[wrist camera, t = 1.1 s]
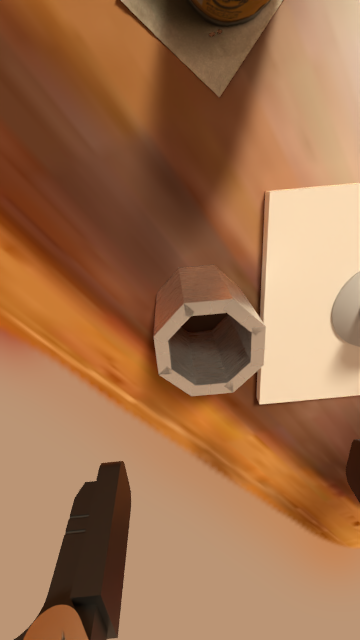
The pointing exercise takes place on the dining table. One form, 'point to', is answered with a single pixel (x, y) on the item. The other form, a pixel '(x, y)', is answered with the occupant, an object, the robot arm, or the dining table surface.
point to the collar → (206, 333)
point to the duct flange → (310, 294)
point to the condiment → (207, 32)
